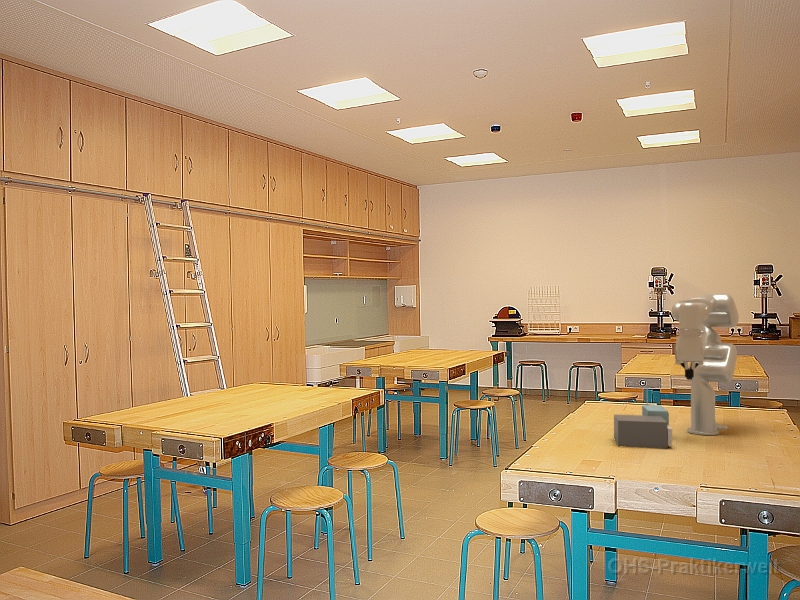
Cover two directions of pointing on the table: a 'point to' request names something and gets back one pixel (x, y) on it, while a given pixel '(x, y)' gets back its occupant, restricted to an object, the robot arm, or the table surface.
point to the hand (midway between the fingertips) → (689, 379)
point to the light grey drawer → (669, 436)
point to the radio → (655, 411)
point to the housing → (640, 431)
